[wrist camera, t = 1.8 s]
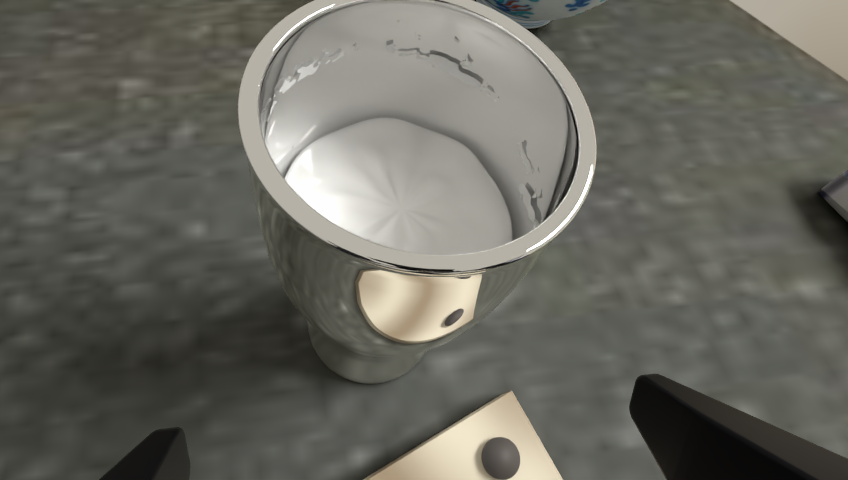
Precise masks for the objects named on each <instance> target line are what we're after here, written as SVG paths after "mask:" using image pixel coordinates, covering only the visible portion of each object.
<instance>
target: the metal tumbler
mask: <svg viewBox="0 0 848 480" xmlns="http://www.w3.org/2000/svg"><path fill="white" fill-rule="evenodd" d="M238 124H239V130H240V136H241V140H242V144H243V147H244V150H245V153H246V155H247V159H248V165H249V172H250V178H251V185H252V191H253V196H254V201H255V206H256V212H257V217H258V221H259V225H260V229H261V232H262V236H263V240H264V243H265V247H266V250H267V253H268V256H269V259H270V261H271V264H272V266H273V268H274V270H275V272H276V275H277V277H278V279H279V281H280V283H281V285H282V287H283V289H284V291H285V293H286V294H287V296H288V298H289V299H290V301H291V302H292V303H293V305H294V306H295V307H296V308H297V310H298V311H299V312H300V313H301V314H302V315H303V317H304V318H305V319H306V320H307V321H308V332H309V337H310V340H311V343H312V346H313V348H314V350H315V351H316V353H317V355H318V356H319V358H320V359H321V360H322V361H323V363H324V364H325V365H326V366H327V367H328V368H329V369H331V370H332V371H333V372H334V373H336V374H337V375H339V376H341V377H343V378H345V379H348V380H351V381H354V382H358V383H366V384H376V383H383V382H387V381H391V380H394V379H396V378H398V377H400V376H402V375H404V374H405V373H407V372H408V371H410V370H411V369H412V368H413V367H414V366H416V365H417V364H418V362H419V361H420V360H421V359H422V357H423V356H424V355H425V353H426V351H427V350H430V349H433V348H435V347H438V346H440V345H443V344H445V343H447V342H450V341H452V340H453V339H455V338H457V337H459V336H460V335H462V334H463V333H465V332H466V331H467V330H469V329H470V328H471V327H473V326H474V325H476V324H477V323H478V322H480V321H481V320H482V319H483V318H485V317H486V316H487V315H488V314H490V313H491V312H492V311H493V310H494V309H495V308H496V307H497V306H498V305H499V304H500V303H501V302H502V301H503V300H504V299H505V298H506V297H507V296H508V295H509V294H510V293H511V292H512V291H513V289H514V288H515V287H516V286H517V285H518V284H519V283H520V281H521V280H522V279H523V278H524V276H525V275H526V274H527V273H528V272H529V270H530V269H531V268H532V267H533V266H534V264H535V263H536V262H537V261H538V259H539V258H540V257H541V255H542V254H543V253H544V251H545V250H546V249H547V247H548V246H549V245H550V243H551V242H552V241H553V240H554V239H555V238H556V237H557V236H558V235H560V234H561V233H562V232H563V231H564V230H565V229H566V227H567V226H568V225H569V224H570V223H571V222H572V220H573V219H574V218H575V216H576V215H577V214H578V212H579V210H580V209H581V207H582V205H583V203H584V202H585V199H586V197H587V195H588V193H589V190H590V187H591V184H592V181H593V177H594V172H595V166H596V137H595V130H594V125H593V121H592V117H591V114H590V111H589V108H588V105H587V103H586V100H585V98H584V96H583V94H582V92H581V90H580V88H579V86H578V85H577V83H576V81H575V80H574V78H573V77H572V75H571V74H570V72H569V71H568V70H567V68H566V67H565V66H564V64H563V63H562V62H561V61H560V60H559V58H558V57H557V56H556V55H555V54H554V53H553V52H552V51H551V50H550V49H549V48H548V47H547V46H546V45H545V44H544V43H543V42H542V41H541V40H539V39H538V38H537V37H536V36H535V35H533V34H532V33H531V32H530V31H528V30H527V29H525V28H524V27H523V26H521V25H520V24H518V23H517V22H515V21H514V20H512V19H510V18H509V17H507V16H505V15H503V14H502V13H500V12H498V11H496V10H494V9H492V8H490V7H488V6H485V5H483V4H481V3H478V2H476V1H473V0H314V1H311V2H309V3H307V4H305V5H303V6H302V7H300V8H298V9H296V10H295V11H293V12H292V13H290V14H289V15H287V16H286V17H285V18H283V19H282V20H281V21H280V22H278V23H277V24H276V25H275V26H274V27H273V28H272V29H271V30H270V31H269V32H268V33H267V34H266V36H265V37H264V38H263V39H262V40H261V42H260V43H259V44H258V46H257V47H256V49H255V50H254V52H253V54H252V55H251V57H250V59H249V61H248V63H247V66H246V68H245V71H244V73H243V76H242V80H241V84H240V89H239V96H238Z"/></svg>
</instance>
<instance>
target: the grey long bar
mask: <svg viewBox="0 0 848 480" xmlns="http://www.w3.org/2000/svg"><path fill="white" fill-rule="evenodd" d="M818 193H819V194H820V195H821V196H822V197H823V198H824V199H825V200H826V201H827V202H828V203H829V204H830V205H831V206H832V207H833V208H834V209H835V210H836V211H837V212H838V213H839V214H840V215H841V216H842V217H843V218H844V219H845V220H846V221H847V222H848V170H847V171H845V172H844V173H842V174H841V175H839V176H838V177H836V178H835V179H834V180H832V181H831V182H829V183H828V184H827V185H825V186H824V187H823V188H821V189H820V191H819V192H818Z"/></svg>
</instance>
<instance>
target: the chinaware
mask: <svg viewBox="0 0 848 480" xmlns="http://www.w3.org/2000/svg"><path fill="white" fill-rule="evenodd" d="M476 1H477V2H478V3H481V4H483V5H485V6H488V7H490V8H492V9H494V10H496V11H498V12H500V13H502V14H503V15H505V16H507V17H509V18H510V19H512V20H514V21H515V22H517V23H518V24H520V25H521V26H523V27H524V28H525V29H531V28H538V27H541V26H544V25H546V24H547V23H549V22H550V21H551V20H556V19H562V18H567V17H571V16H574V15H577V14H580V13H583V12H585V11H588V10H590V9H592V8H594V7H596V6H598V5H600V4H602V3H603V2H605V1H607V0H476Z"/></svg>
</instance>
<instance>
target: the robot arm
mask: <svg viewBox="0 0 848 480" xmlns="http://www.w3.org/2000/svg"><path fill="white" fill-rule="evenodd" d="M629 410H630V414H631V417H632V419H633V421H634V423H635V425H636V426H637V428H638V430H639V432H640V433H641V435H642V437H643V439H644V441H645V442H646V444H647V446H648V448H649V449H650V451H651V453H652V455H653V457H654V458H655V460H656V462H657V464H658V465H659V467H660V469H661V471H662V473H663V474H664V476H665V478H666V479H667V480H848V459H847V458H845V457H843V456H840V455H838V454H836V453H834V452H831V451H829V450H827V449H825V448H822V447H820V446H818V445H816V444H813V443H811V442H809V441H807V440H805V439H802V438H800V437H798V436H796V435H793V434H791V433H789V432H787V431H784V430H782V429H780V428H778V427H775V426H773V425H771V424H769V423H767V422H764V421H762V420H760V419H758V418H755V417H753V416H751V415H749V414H746V413H744V412H742V411H740V410H738V409H735V408H733V407H731V406H729V405H726V404H724V403H722V402H720V401H717V400H715V399H713V398H711V397H708V396H706V395H704V394H702V393H700V392H697V391H695V390H693V389H691V388H688V387H686V386H684V385H682V384H679V383H677V382H675V381H673V380H670V379H668V378H666V377H664V376H662V375H659V374H648V375H641V376H639V377H638V378H637V379H636V382H635V385H634V389H633V393H632V397H631V401H630V406H629ZM189 476H190V460H189V455H188V450H187V444H186V439H185V434H184V431H183V430H182V429H181V428H179V427H175V428H166V429H159V430H156V431H154V432H152V433H151V434H150V435H149V436H148V437H146V438H145V439H144V440H143V441H142V442H141V443H140V444H139V445H137V446H136V447H135V448H134V449H133V450H132V451H131V452H130V453H128V454H127V455H126V456H125V457H124V458H123V459H122V460H121V461H119V462H118V463H117V464H116V465H115V466H114V467H113V468H112V469H110V470H109V471H108V472H107V473H106V474H105V475H104V476H103V477H101V478H100V479H99V480H189Z"/></svg>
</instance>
